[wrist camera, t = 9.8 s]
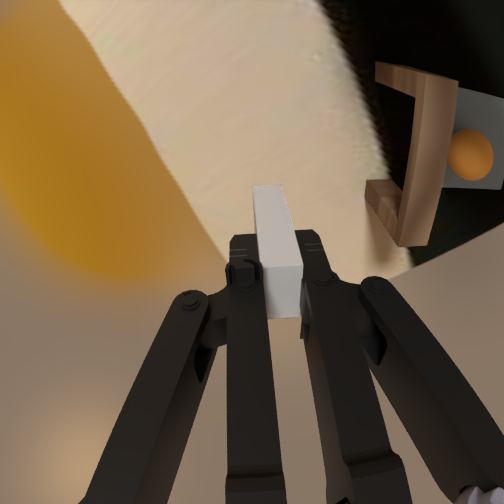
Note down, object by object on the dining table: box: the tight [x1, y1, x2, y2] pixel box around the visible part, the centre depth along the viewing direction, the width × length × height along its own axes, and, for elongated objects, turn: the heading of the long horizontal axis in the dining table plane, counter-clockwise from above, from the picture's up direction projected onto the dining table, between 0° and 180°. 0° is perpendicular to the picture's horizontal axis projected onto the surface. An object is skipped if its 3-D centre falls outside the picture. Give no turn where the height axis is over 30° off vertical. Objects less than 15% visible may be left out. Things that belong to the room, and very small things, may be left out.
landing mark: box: [442, 87, 504, 190], centre depth 29 cm, size 12×12×1 cm
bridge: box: [365, 61, 459, 247], centre depth 25 cm, size 3×14×9 cm, turn 3°
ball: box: [448, 129, 494, 181], centre depth 27 cm, size 6×6×6 cm
